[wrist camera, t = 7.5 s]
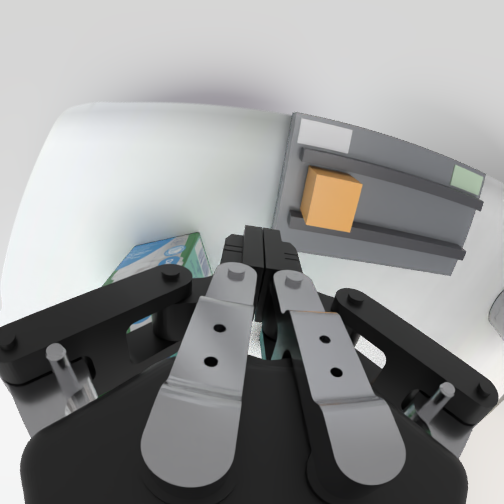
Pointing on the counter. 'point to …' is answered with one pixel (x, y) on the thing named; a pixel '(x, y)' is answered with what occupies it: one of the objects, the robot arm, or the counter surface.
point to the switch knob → (330, 199)
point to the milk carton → (163, 262)
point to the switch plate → (380, 197)
